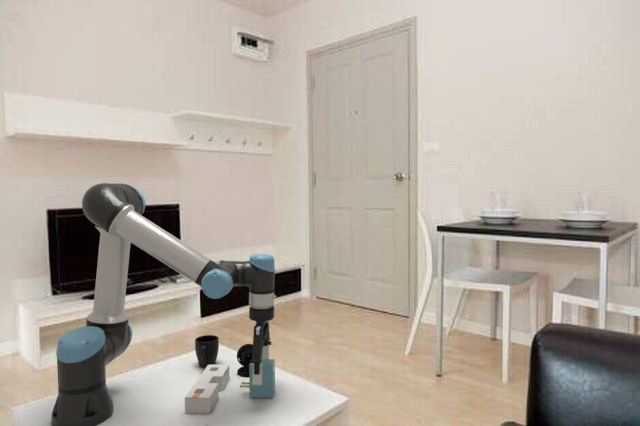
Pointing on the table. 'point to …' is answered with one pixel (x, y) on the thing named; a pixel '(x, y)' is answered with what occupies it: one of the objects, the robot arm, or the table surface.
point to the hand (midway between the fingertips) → (260, 374)
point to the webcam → (244, 359)
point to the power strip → (206, 389)
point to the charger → (267, 380)
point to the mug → (206, 350)
